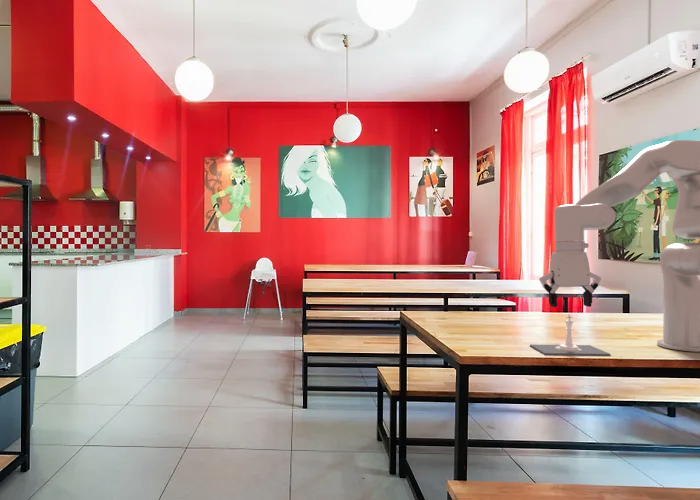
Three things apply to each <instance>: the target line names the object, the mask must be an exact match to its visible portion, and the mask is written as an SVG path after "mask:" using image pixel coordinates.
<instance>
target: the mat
mask: <svg viewBox="0 0 700 500" xmlns="http://www.w3.org/2000/svg"><path fill="white" fill-rule="evenodd" d="M560 345H561V344H530V343H529V347H530V348H532V349H534V350H535V351H537V352H539V353H541V354H542V355H544V356H591V357H592V356H593V357H594V356H595V357H596V356H597V357H600V356H601V357H607V356H608V357H609V356H610V357H611V353H609V352H607V351H604V350H602V349H600V348H598V347H595V346H593V345H591V344H575V345H576V346H578V350H575V351H571V350H564V349H561V348H560Z"/></svg>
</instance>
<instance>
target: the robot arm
mask: <svg viewBox="0 0 700 500" xmlns="http://www.w3.org/2000/svg"><path fill="white" fill-rule="evenodd" d="M664 173H666V174H667V175H668V177H669V178H671V180H672V181H673V182H674V183H675V186H676V188H677V191H678V196H677V202H676V207H675V211H674V217H673V221H672V232H673V234H674V235H675V237H678V238H680V239H684V240H700V140H691V139H690V140H687V139H686V140H685V139H676V140H675V139H673V140H669V141H665V142H662V143H659V144H655V145H651V146H648V147H646V148H644V149H643V150H641V151H640V152H639V153H638V154H637V155H636V156H635V157H633V158H632V160H630V161H629V162H628V163H627V164H626V165H624V167H623V168H622V169H621V170H619V172H618V173H616V174H615V175H614V176H613V177H611V178H609V179H608V180H606V181H605V182H603V183H601V184H600V185H598V186H597V187H595V188H594V189H592V190H591V191H590V192H588V193H587V194H585V195H584V196H583V197H582V198H580V199H579V200H578V201H577V202H576V203H575V204H563V205H559V206H556V207H555V209H554V250H555V252H552V253H551V257H550V262H549V263H550V264H549V272H548V273H546V274H544V275H543V276H540V277H539V278H538V280H539V282H540V284H541V285H542V288H543V289H545V290H546V292H547V294H548V304H549V306H550V307H552V308H557V307H558V293H556V292H557V290H558V289H559V288H560V287H561V288H563V287H564V288H571V287H577V288H578V287H581V288H582V289H583V290H584V291H583V294H582V295H583V296H582V297H583V299H582V300H583V301H582V302H583V306H586V307H588V308H590V307H592V303H593V293H594V292H595V290H596V289H597V288H598V287H599V284H600V283H601V281H602V276H599V275H597V274H595V273H593V272H591V271H590V262H589V258H588V254H587V252H586V251H585V250H586V249H587V248H589V246H590V245H589V243H588V242H587V243H586V242H585V231H597V230H599V231H600V230H604V229H607V228H608V227H610V226H612V225H613V223H614V222H615V220H616V212H615V210H614V208H613V207H614V206H616V205H619V204H622V203H625V202H627V201H629V200H631V199H633V198H636V197H637V196H639V195H640V194H641V193H643V192H644V191H645V190H646V188H647V187H648V186H649V185H651V183H653V182H654V181H655V180H657V178H658V177H659V176H660V175H662V174H664ZM659 264H660V268H661V273H662V281H663V311H662V312H663V315H662V317H663V323H662V324H663V327H662V328H663V331H662V332H663V333H662V335H663V337H662V339H658V340H657V341H656V344H657V346H659V347H661V348H666V349H670V350H676V351H683V352H692V353H693V352H696V353H699V352H700V278H699V276H700V242H675V243H671V244H669V245H667V246H665V247H664V248H663V249H662V251H660V255H659ZM591 279H592V280H593V281H592V283H591ZM547 281H549V284H550V285H549V284H548V282H547ZM590 283H591V284H590Z"/></svg>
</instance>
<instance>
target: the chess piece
mask: <svg viewBox="0 0 700 500" xmlns="http://www.w3.org/2000/svg"><path fill="white" fill-rule="evenodd" d="M565 318H566V320H565V322H564V323H565V324H566V327H565V329H564V330H565V331H567V332H566V337H565V338H566V339H565V342H564V343H561V344H559V345H560V348H561V349H564V350H571V351H575V350H578V346H576V345H577V344H574V343H573V337H572V331H574V329H573V328H572V325H573V323H574V321H573V320H571V319H573V318H574V317H573V316H572V315H571V314H570V313H569V314H567V315H566V316H565Z"/></svg>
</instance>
